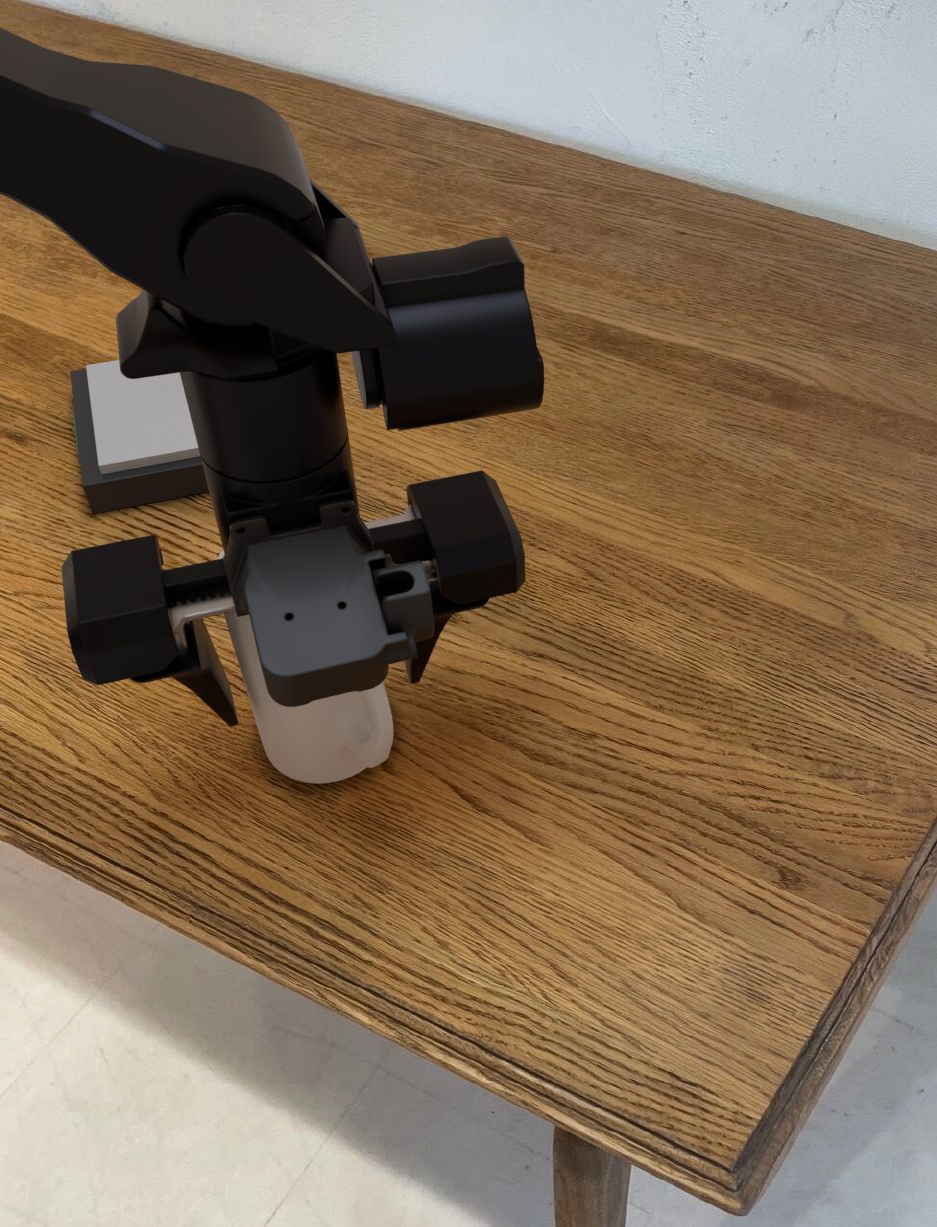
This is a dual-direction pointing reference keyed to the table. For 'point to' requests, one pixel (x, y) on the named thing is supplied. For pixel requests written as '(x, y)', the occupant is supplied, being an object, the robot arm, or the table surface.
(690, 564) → the table surface
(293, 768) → the mug
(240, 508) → the robot arm
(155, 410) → the scale
